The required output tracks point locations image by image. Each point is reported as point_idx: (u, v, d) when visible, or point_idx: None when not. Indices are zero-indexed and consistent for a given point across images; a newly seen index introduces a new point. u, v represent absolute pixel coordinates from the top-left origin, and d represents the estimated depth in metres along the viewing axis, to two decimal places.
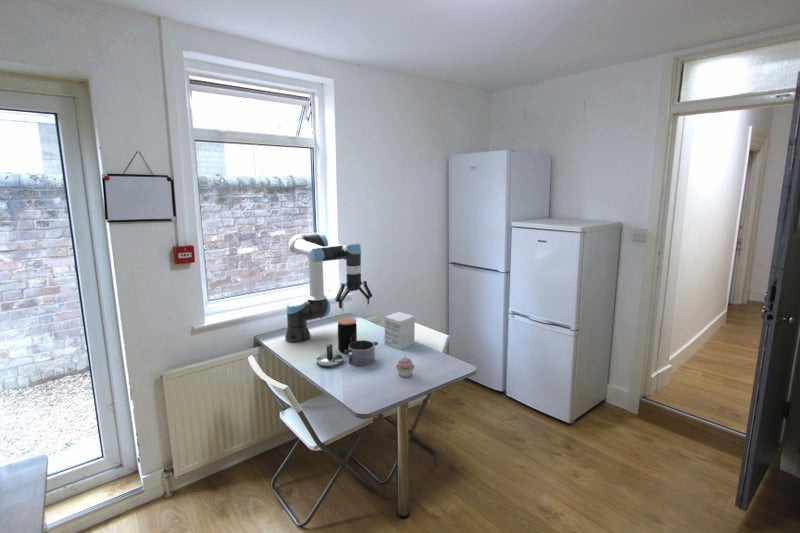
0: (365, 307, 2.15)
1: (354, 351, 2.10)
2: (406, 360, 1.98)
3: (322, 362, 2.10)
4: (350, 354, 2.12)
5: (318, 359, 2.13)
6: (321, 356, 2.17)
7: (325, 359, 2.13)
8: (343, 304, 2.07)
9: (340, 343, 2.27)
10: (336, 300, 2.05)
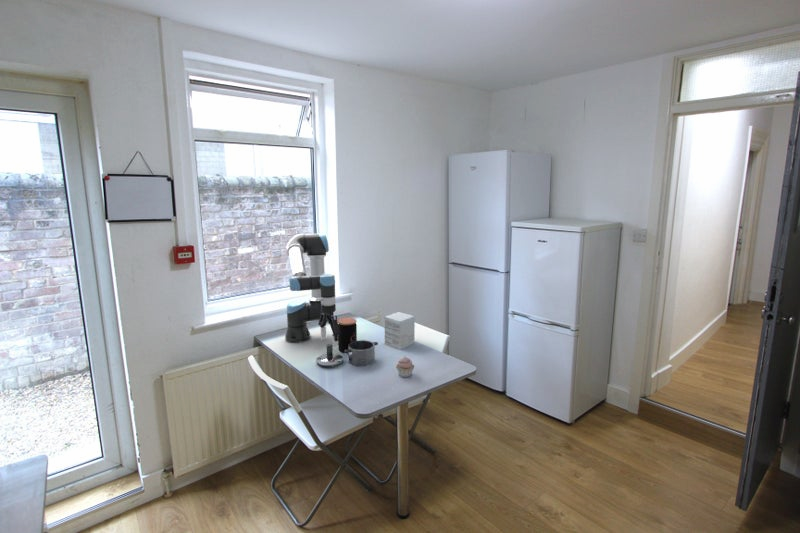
0: None
1: (354, 351, 2.10)
2: (406, 360, 1.98)
3: (322, 362, 2.10)
4: (350, 354, 2.12)
5: (318, 359, 2.13)
6: (321, 356, 2.17)
7: (325, 359, 2.13)
8: (321, 330, 2.16)
9: (340, 343, 2.27)
10: (318, 323, 2.18)
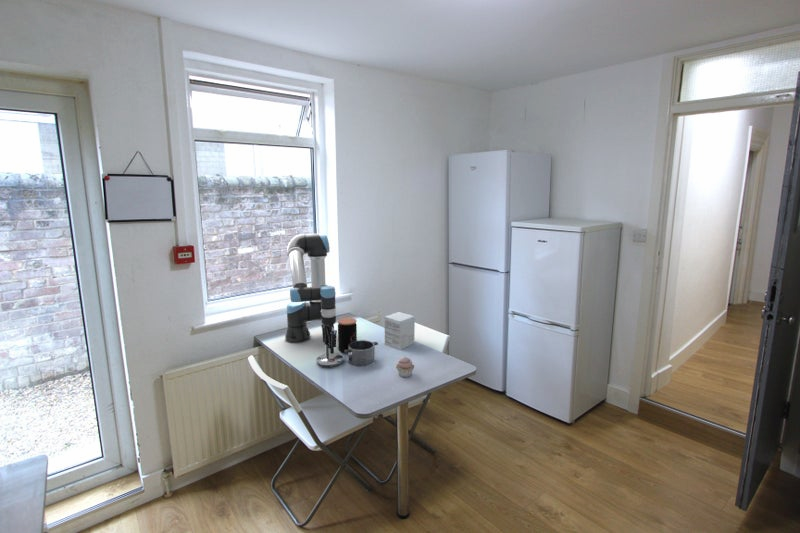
0: None
1: (354, 351, 2.10)
2: (406, 360, 1.98)
3: (322, 362, 2.10)
4: (350, 354, 2.12)
5: (318, 359, 2.13)
6: (321, 356, 2.17)
7: (325, 359, 2.13)
8: (325, 347, 2.14)
9: (340, 343, 2.27)
10: (323, 341, 2.16)
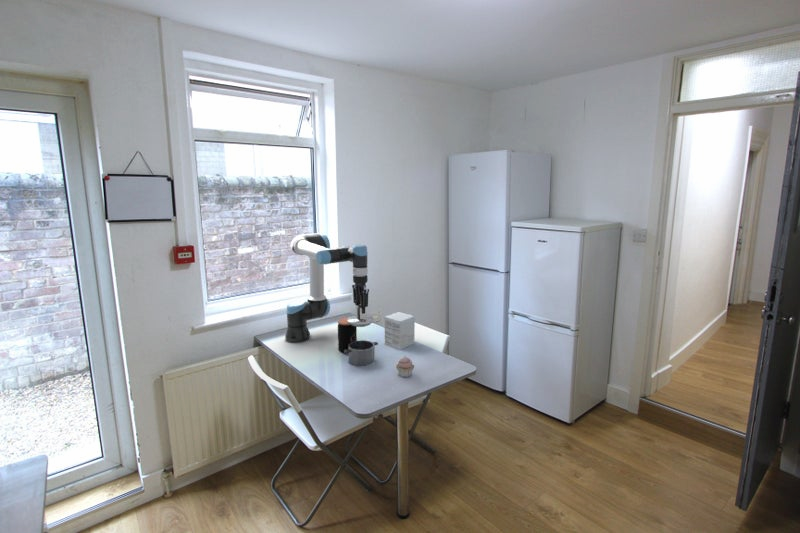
0: None
1: (354, 351, 2.10)
2: (406, 360, 1.98)
3: (354, 322, 2.08)
4: (350, 354, 2.12)
5: (349, 319, 2.12)
6: (351, 317, 2.15)
7: (356, 319, 2.12)
8: (356, 307, 2.12)
9: (340, 343, 2.27)
10: (354, 302, 2.15)
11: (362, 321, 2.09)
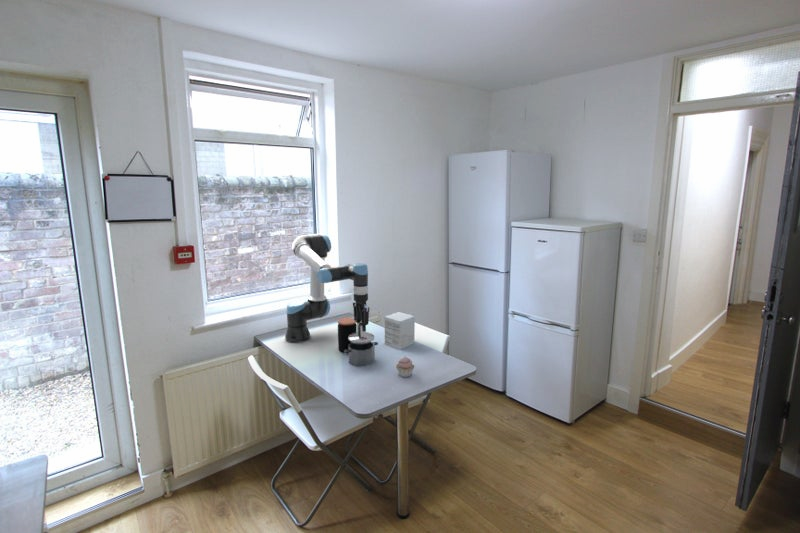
0: None
1: (354, 351, 2.10)
2: (406, 360, 1.98)
3: (354, 339, 2.10)
4: (350, 354, 2.12)
5: (350, 337, 2.14)
6: (352, 334, 2.17)
7: (357, 337, 2.14)
8: (357, 325, 2.14)
9: (340, 343, 2.27)
10: (354, 319, 2.17)
11: (363, 339, 2.11)
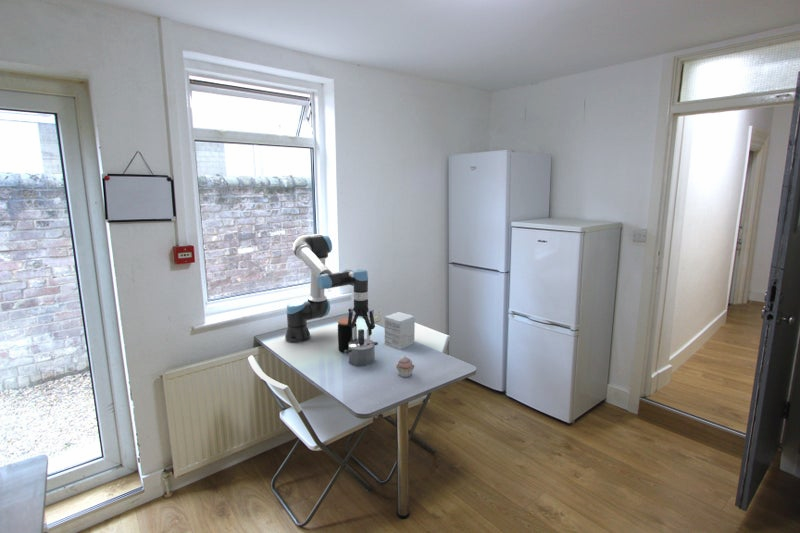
0: None
1: (354, 351, 2.10)
2: (406, 360, 1.98)
3: (360, 347, 2.10)
4: (350, 354, 2.12)
5: (352, 346, 2.11)
6: (350, 343, 2.15)
7: (358, 345, 2.14)
8: (353, 330, 2.14)
9: (340, 343, 2.27)
10: None
11: (366, 345, 2.13)
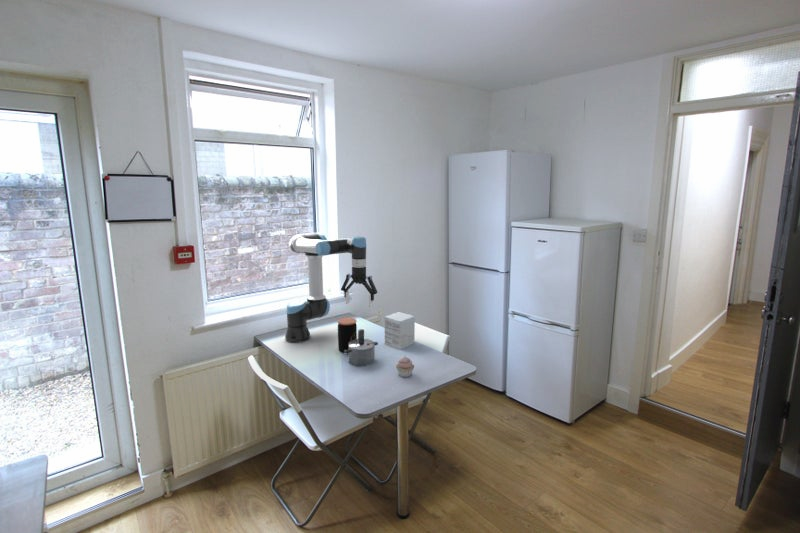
0: None
1: (354, 351, 2.10)
2: (406, 360, 1.98)
3: (360, 347, 2.10)
4: (350, 354, 2.12)
5: (352, 346, 2.11)
6: (350, 343, 2.15)
7: (358, 345, 2.14)
8: (346, 294, 2.15)
9: (340, 343, 2.27)
10: (341, 289, 2.15)
11: (366, 345, 2.13)
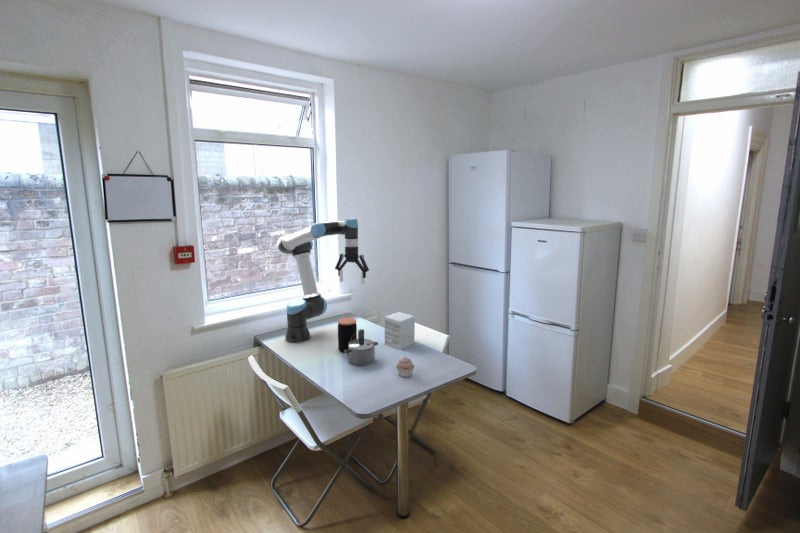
0: None
1: (354, 351, 2.10)
2: (406, 360, 1.98)
3: (360, 347, 2.10)
4: (350, 354, 2.12)
5: (352, 346, 2.11)
6: (350, 343, 2.15)
7: (358, 345, 2.14)
8: (340, 272, 2.30)
9: (340, 343, 2.27)
10: (335, 267, 2.31)
11: (366, 345, 2.13)
